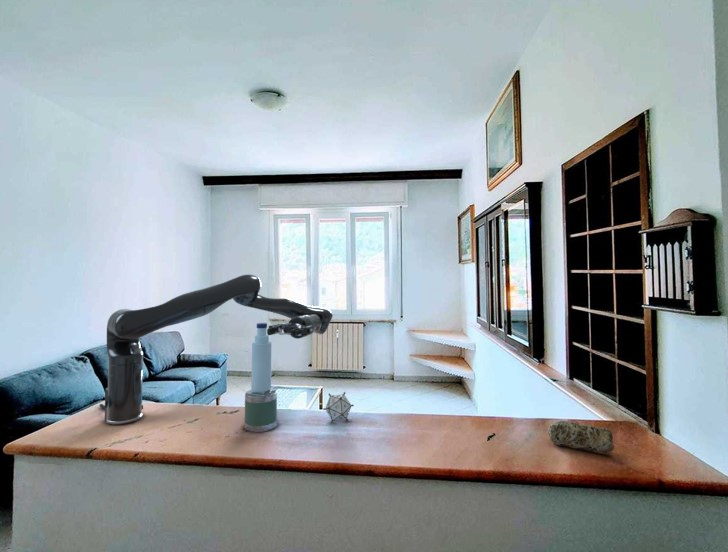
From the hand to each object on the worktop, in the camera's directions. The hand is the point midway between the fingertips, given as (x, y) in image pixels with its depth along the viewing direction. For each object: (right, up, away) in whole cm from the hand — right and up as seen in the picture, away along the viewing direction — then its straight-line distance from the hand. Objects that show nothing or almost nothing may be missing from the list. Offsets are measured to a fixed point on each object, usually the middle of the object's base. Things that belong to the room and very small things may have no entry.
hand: (280, 332), depth 128 cm
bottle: (-4, -15, -11) cm, 19 cm away
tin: (-4, -25, -12) cm, 28 cm away
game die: (+19, -25, -8) cm, 32 cm away
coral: (+81, -24, -27) cm, 89 cm away
